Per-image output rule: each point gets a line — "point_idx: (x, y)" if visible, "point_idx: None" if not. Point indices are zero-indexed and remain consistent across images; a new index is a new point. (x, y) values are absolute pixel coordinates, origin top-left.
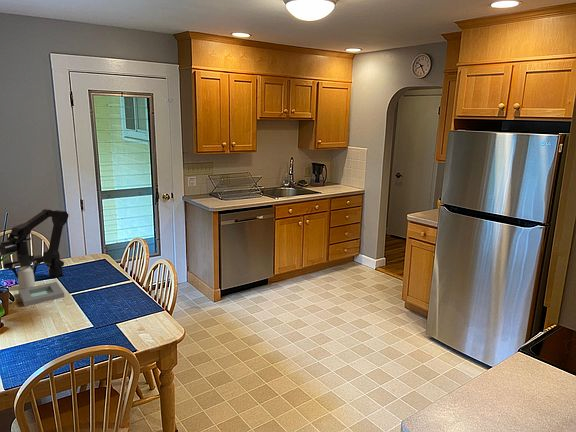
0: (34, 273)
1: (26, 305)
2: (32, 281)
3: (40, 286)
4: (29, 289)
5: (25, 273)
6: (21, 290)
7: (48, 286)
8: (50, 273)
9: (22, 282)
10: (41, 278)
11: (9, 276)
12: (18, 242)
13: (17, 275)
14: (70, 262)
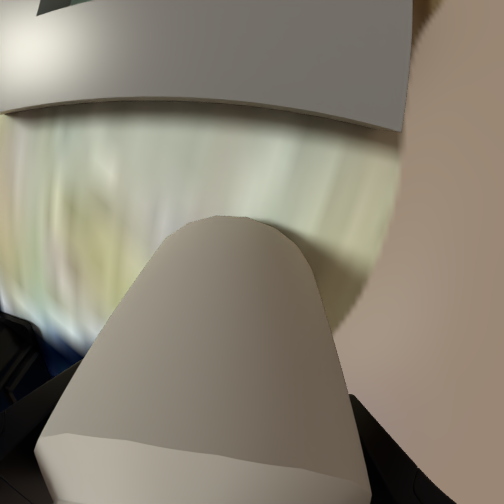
0: (69, 373)
1: None
2: (154, 260)
3: (111, 45)
4: (273, 20)
5: (226, 397)
6: (377, 72)
7: (50, 14)
8: (18, 367)
9: (303, 284)
10: None
11: None
12: None
13: (359, 433)
14: None
